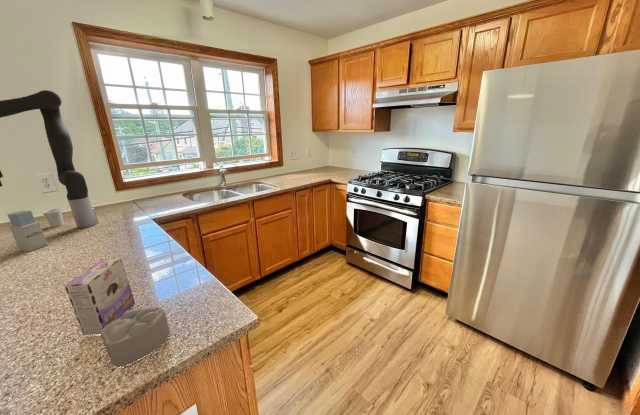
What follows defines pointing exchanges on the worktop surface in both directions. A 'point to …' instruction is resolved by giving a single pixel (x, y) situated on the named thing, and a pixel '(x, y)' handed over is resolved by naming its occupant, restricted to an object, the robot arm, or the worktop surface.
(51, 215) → the dixie cup
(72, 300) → the candy box
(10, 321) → the worktop surface
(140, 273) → the worktop surface
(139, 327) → the grey lumpy block
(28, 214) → the blue block
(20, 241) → the supplement box
